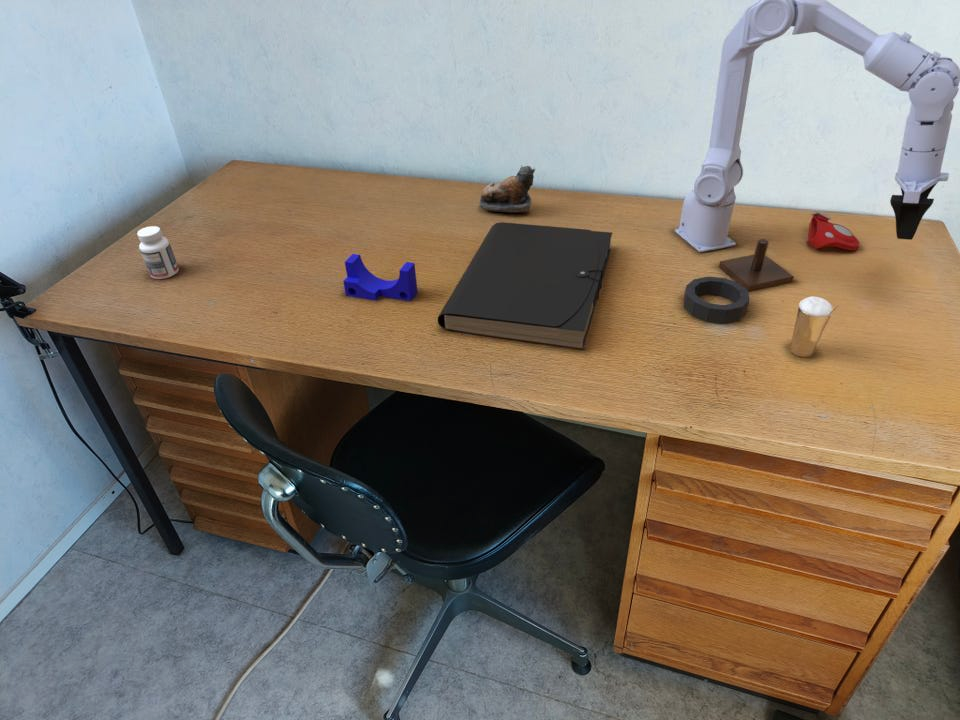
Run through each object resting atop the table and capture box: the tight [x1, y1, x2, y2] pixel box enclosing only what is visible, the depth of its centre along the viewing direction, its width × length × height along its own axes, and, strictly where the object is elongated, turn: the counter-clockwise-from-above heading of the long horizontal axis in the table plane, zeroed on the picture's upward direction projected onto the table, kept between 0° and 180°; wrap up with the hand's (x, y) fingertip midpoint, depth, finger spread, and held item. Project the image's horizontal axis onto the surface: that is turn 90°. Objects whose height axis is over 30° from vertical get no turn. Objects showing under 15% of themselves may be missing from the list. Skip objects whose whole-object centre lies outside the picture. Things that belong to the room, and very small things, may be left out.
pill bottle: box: [136, 225, 180, 280], centre depth 123 cm, size 5×5×9 cm
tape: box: [683, 276, 751, 325], centre depth 110 cm, size 10×10×3 cm
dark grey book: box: [437, 221, 613, 350], centre depth 117 cm, size 33×4×24 cm
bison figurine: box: [478, 165, 536, 213], centre depth 139 cm, size 12×7×10 cm, turn 74°
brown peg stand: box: [718, 238, 794, 292], centre depth 117 cm, size 9×9×7 cm
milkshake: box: [789, 295, 839, 358], centre depth 98 cm, size 5×5×10 cm
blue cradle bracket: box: [342, 253, 419, 302], centre depth 116 cm, size 12×4×6 cm, turn 71°
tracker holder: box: [807, 210, 860, 251], centre depth 127 cm, size 12×4×10 cm
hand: (907, 228), depth 108 cm, fingers open, 7 cm apart
